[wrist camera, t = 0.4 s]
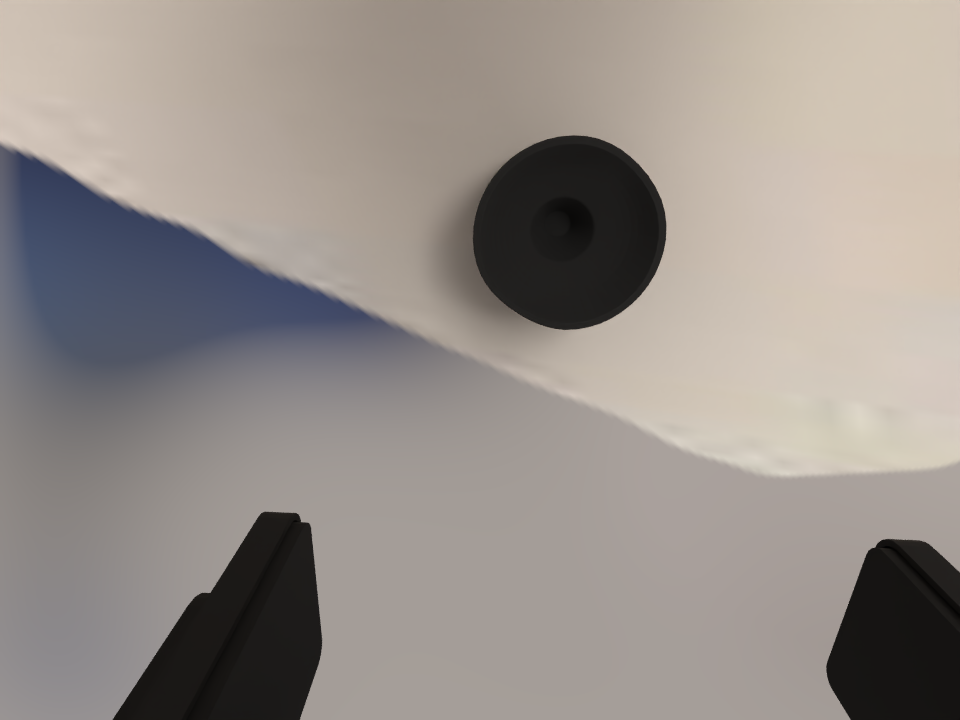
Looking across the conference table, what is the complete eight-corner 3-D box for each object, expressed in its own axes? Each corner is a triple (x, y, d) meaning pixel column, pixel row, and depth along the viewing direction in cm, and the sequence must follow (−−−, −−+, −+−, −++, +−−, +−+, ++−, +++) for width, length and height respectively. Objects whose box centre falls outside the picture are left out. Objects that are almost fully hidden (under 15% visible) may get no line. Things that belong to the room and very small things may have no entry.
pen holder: (494, 296, 39) (494, 345, 29) (465, 155, 35) (453, 160, 26) (630, 269, 38) (674, 310, 28) (613, 121, 34) (656, 114, 25)
